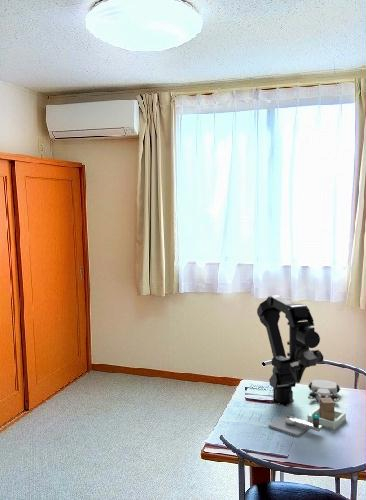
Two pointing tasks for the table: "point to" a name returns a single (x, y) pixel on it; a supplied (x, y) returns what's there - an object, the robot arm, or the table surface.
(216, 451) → the table surface
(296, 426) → the crank base
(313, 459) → the table surface
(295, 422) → the crank
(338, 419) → the tray
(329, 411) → the brown block
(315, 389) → the robot toy
